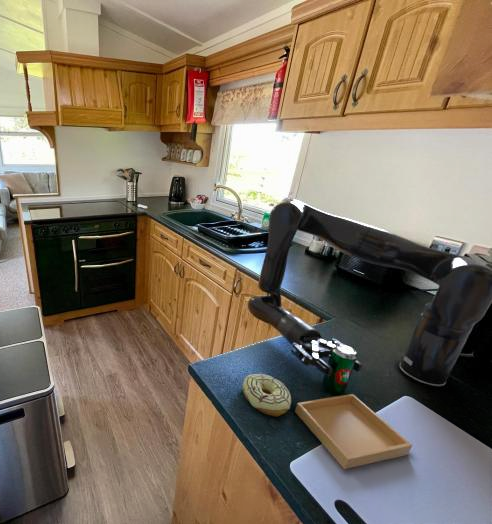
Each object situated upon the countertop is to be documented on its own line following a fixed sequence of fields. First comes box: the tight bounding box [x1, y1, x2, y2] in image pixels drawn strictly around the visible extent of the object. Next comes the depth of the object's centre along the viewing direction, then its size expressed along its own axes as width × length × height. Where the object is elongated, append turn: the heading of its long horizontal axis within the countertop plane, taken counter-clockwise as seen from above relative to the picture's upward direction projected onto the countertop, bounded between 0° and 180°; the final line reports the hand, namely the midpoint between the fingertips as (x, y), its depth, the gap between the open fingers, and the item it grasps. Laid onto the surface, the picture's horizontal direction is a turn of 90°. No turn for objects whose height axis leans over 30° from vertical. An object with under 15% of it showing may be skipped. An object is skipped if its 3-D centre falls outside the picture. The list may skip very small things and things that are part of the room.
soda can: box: [321, 343, 358, 396], centre depth 71 cm, size 5×5×12 cm
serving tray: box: [294, 393, 413, 470], centre depth 61 cm, size 15×13×3 cm
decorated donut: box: [241, 373, 292, 417], centre depth 68 cm, size 10×11×4 cm
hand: (345, 370), depth 69 cm, fingers open, 8 cm apart
